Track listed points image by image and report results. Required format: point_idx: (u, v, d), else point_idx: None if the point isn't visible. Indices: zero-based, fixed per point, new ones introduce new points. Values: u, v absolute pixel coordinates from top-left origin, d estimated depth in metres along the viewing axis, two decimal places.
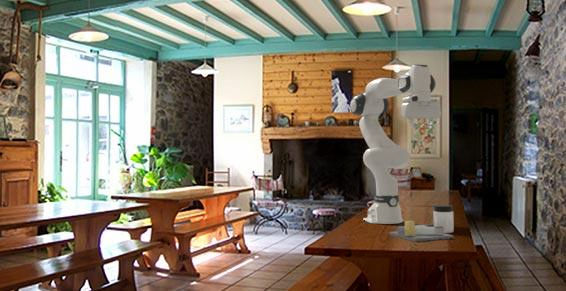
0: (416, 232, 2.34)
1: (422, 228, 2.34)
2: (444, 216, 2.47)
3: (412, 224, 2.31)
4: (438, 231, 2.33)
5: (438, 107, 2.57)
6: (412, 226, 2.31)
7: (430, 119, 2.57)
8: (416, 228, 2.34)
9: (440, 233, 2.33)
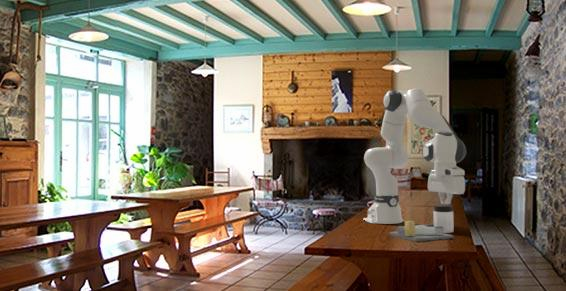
0: (416, 232, 2.34)
1: (422, 228, 2.34)
2: (444, 216, 2.47)
3: (412, 224, 2.31)
4: (438, 231, 2.33)
5: None
6: (412, 226, 2.31)
7: (442, 193, 2.30)
8: (416, 228, 2.34)
9: (440, 233, 2.33)
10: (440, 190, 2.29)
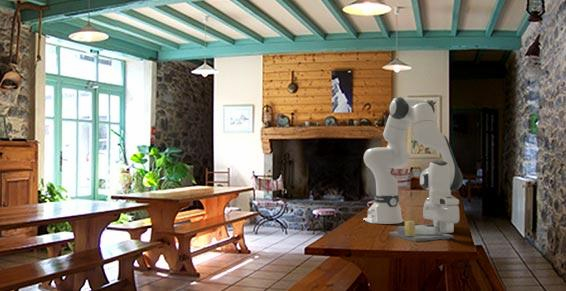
0: (416, 232, 2.34)
1: (422, 228, 2.34)
2: None
3: (412, 224, 2.31)
4: None
5: None
6: (412, 226, 2.31)
7: (439, 221, 2.32)
8: (416, 228, 2.34)
9: (440, 233, 2.33)
10: (435, 218, 2.32)
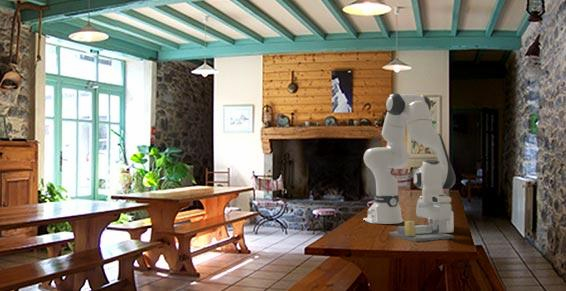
0: (416, 232, 2.36)
1: (421, 227, 2.37)
2: None
3: (412, 224, 2.31)
4: None
5: None
6: (412, 226, 2.31)
7: (431, 219, 2.38)
8: (416, 228, 2.36)
9: (436, 231, 2.39)
10: (428, 216, 2.37)
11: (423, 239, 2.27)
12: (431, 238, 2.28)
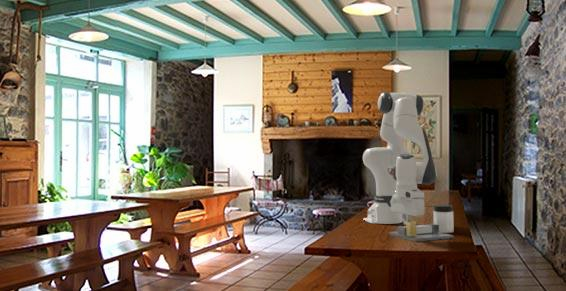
0: None
1: (421, 227, 2.37)
2: (444, 216, 2.47)
3: (414, 224, 2.30)
4: (435, 229, 2.39)
5: None
6: (414, 226, 2.30)
7: (405, 214, 2.35)
8: (416, 228, 2.36)
9: (436, 231, 2.39)
10: (402, 211, 2.34)
11: (423, 239, 2.27)
12: (431, 238, 2.28)
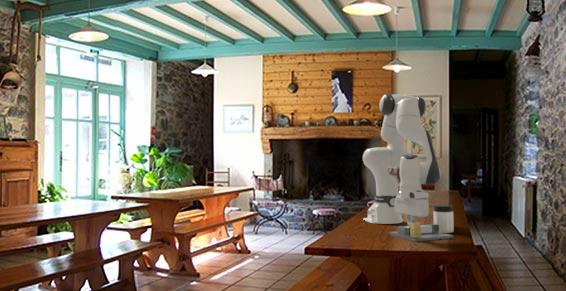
0: None
1: (421, 227, 2.37)
2: (444, 216, 2.47)
3: (418, 225, 2.27)
4: (435, 229, 2.39)
5: None
6: (418, 227, 2.27)
7: (409, 215, 2.32)
8: None
9: (436, 231, 2.39)
10: (405, 212, 2.31)
11: (423, 239, 2.27)
12: (431, 238, 2.28)
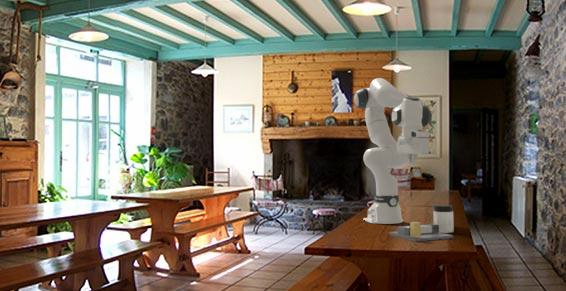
0: None
1: (421, 227, 2.37)
2: (444, 216, 2.47)
3: (418, 225, 2.27)
4: (435, 229, 2.39)
5: None
6: (418, 227, 2.27)
7: (410, 155, 2.45)
8: None
9: (436, 231, 2.39)
10: (407, 152, 2.44)
11: (423, 239, 2.27)
12: (431, 238, 2.28)
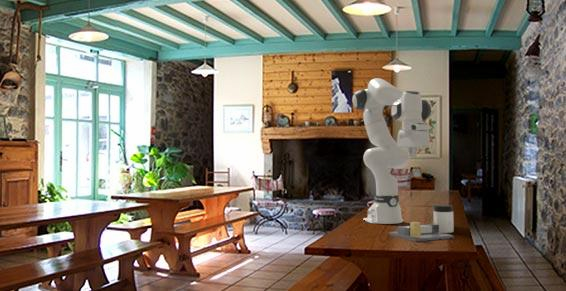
0: None
1: (421, 227, 2.37)
2: (444, 216, 2.47)
3: (418, 225, 2.27)
4: (435, 229, 2.39)
5: None
6: (418, 227, 2.27)
7: (411, 148, 2.46)
8: None
9: (436, 231, 2.39)
10: (408, 145, 2.45)
11: (423, 239, 2.27)
12: (431, 238, 2.28)
